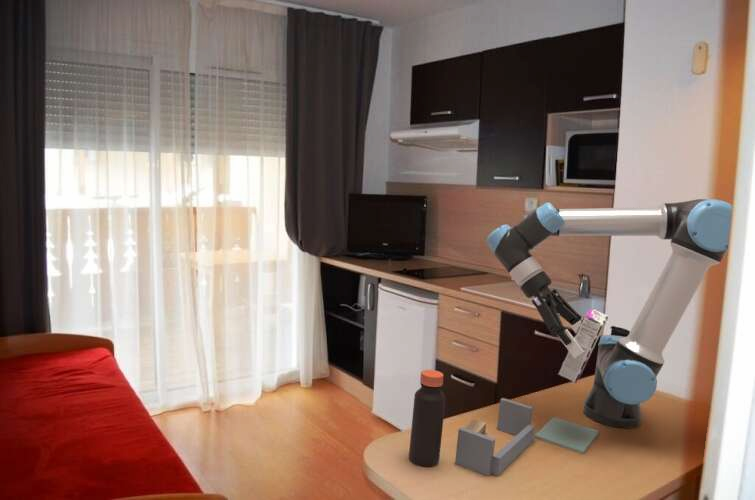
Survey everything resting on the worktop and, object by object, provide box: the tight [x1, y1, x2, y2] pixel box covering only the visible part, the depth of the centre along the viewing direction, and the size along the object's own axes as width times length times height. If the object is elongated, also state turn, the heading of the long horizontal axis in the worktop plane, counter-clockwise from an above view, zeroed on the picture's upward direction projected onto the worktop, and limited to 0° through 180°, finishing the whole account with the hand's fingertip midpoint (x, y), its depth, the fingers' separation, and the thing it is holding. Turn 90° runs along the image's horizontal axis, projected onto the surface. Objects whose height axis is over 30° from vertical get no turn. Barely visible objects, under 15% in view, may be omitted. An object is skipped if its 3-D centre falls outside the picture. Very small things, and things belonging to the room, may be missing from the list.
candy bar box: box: [557, 308, 610, 384], centre depth 139 cm, size 11×5×16 cm, turn 151°
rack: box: [454, 397, 536, 477], centre depth 132 cm, size 10×25×8 cm, turn 145°
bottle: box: [408, 369, 447, 467], centre depth 124 cm, size 7×7×20 cm
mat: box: [534, 416, 600, 455], centre depth 144 cm, size 12×15×1 cm
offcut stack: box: [463, 418, 488, 436], centre depth 134 cm, size 4×8×5 cm, turn 152°
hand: (585, 349), depth 139 cm, fingers closed on candy bar box, 11 cm apart
